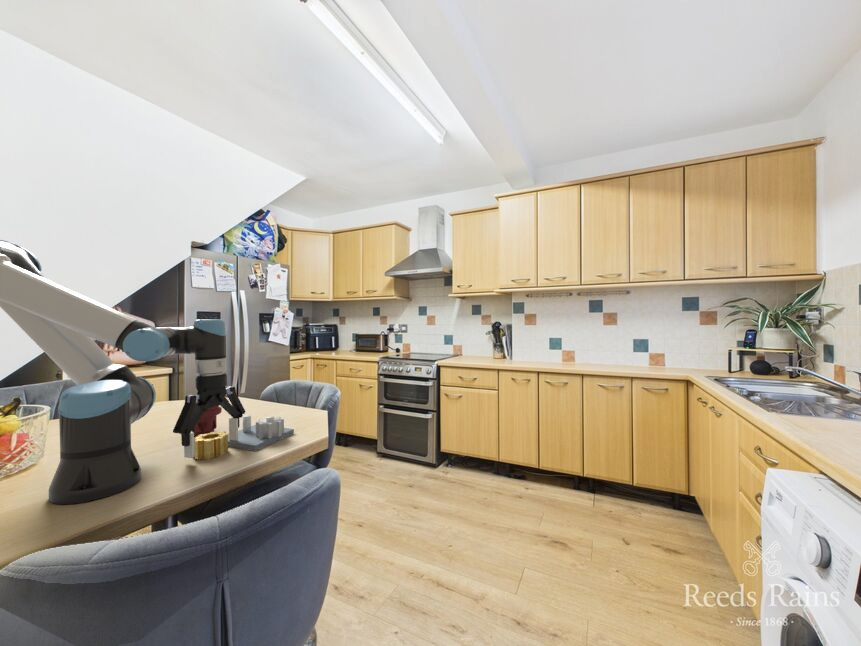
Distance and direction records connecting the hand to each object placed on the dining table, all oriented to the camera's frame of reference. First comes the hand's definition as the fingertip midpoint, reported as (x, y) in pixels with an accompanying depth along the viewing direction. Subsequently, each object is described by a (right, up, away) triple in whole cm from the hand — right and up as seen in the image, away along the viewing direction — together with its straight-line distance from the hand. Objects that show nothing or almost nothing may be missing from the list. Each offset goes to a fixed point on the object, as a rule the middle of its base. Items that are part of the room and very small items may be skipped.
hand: (213, 448), depth 99 cm
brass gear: (-1, -1, 0) cm, 2 cm away
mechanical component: (-14, -2, +17) cm, 22 cm away
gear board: (+6, -1, +12) cm, 14 cm away
